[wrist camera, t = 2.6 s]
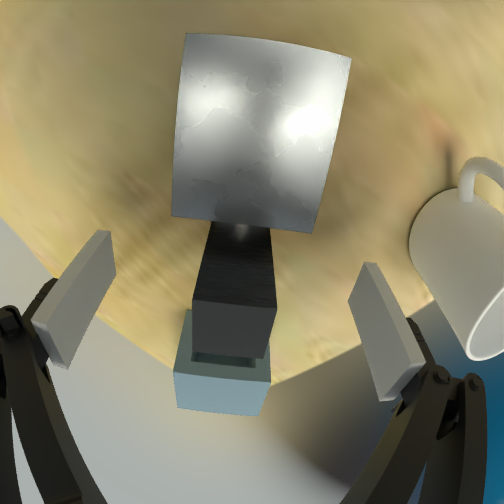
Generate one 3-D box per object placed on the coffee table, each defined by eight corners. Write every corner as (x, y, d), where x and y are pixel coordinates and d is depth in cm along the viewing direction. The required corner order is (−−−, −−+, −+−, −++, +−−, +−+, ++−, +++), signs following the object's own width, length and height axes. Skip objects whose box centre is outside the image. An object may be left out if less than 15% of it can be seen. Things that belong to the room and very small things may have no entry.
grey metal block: (209, 49, 14) (186, 33, 9) (318, 65, 14) (351, 58, 9) (195, 173, 18) (171, 216, 13) (294, 185, 19) (311, 233, 13)
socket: (186, 309, 25) (172, 371, 19) (268, 319, 25) (270, 382, 20) (187, 351, 28) (177, 407, 22) (257, 359, 28) (257, 416, 23)
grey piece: (235, 49, 13) (214, 11, 5) (294, 58, 13) (342, 32, 6) (210, 273, 21) (191, 386, 13) (254, 278, 21) (255, 392, 14)
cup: (404, 282, 23) (452, 376, 15) (400, 145, 17) (500, 212, 8) (475, 259, 22) (532, 334, 13) (485, 134, 16) (582, 187, 7)
